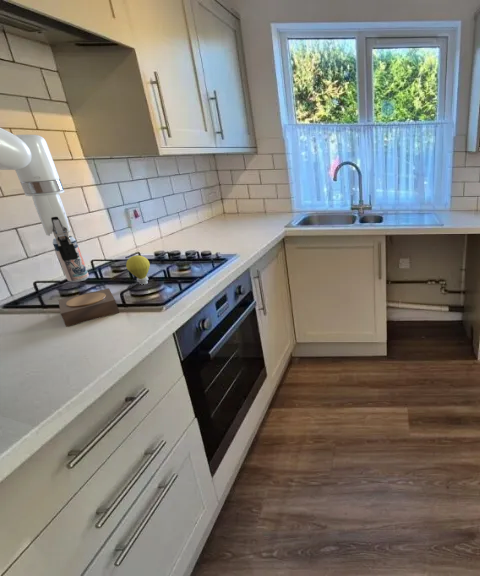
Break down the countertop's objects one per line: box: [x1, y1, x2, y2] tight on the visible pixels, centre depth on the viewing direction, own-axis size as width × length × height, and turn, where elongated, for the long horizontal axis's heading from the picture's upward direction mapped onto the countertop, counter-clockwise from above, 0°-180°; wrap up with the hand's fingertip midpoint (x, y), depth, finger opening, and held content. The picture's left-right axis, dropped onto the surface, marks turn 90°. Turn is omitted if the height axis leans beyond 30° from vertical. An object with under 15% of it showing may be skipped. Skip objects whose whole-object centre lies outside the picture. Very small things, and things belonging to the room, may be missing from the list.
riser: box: [58, 288, 120, 328], centre depth 103 cm, size 12×12×4 cm
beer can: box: [52, 235, 90, 283], centre depth 98 cm, size 5×5×12 cm
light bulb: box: [125, 254, 151, 286], centre depth 122 cm, size 7×7×10 cm
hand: (69, 256), depth 97 cm, fingers closed on beer can, 4 cm apart
